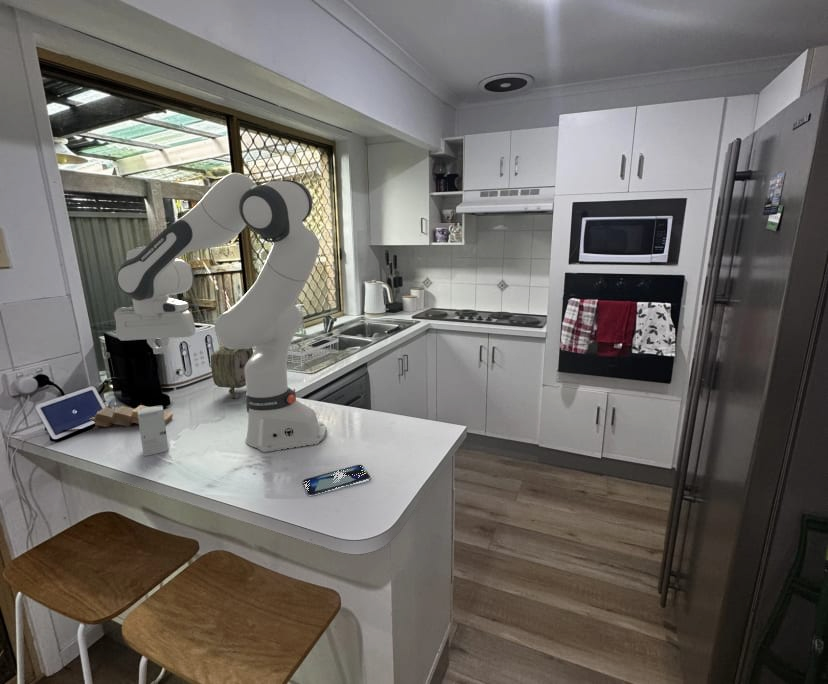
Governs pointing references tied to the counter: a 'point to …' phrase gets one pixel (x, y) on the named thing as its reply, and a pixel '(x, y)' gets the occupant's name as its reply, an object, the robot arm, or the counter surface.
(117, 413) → the domino
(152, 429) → the skincare box
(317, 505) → the counter surface
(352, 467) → the smartphone
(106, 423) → the domino
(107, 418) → the domino
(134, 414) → the oak domino
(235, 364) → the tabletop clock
